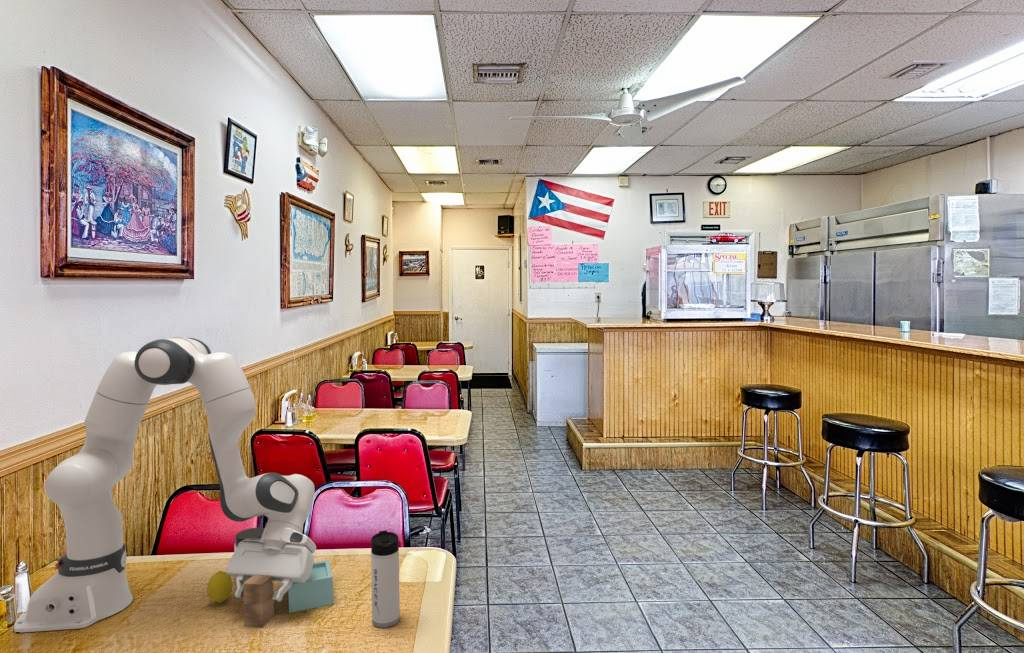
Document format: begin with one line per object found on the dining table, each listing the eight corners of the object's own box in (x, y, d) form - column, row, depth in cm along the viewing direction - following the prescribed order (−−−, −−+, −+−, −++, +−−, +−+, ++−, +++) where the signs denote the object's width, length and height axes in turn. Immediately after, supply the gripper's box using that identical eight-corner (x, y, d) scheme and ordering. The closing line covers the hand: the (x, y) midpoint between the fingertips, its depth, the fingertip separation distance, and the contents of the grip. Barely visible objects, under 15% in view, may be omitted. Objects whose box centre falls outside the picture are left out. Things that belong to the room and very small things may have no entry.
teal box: (289, 613, 136) (288, 585, 135) (288, 594, 145) (287, 567, 145) (332, 605, 140) (332, 577, 139) (329, 586, 149) (328, 560, 148)
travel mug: (397, 610, 137) (395, 528, 136) (401, 624, 130) (400, 539, 130) (370, 615, 134) (369, 532, 133) (374, 630, 128) (372, 543, 127)
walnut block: (244, 626, 130) (243, 583, 130) (256, 615, 135) (255, 573, 134) (262, 627, 130) (261, 584, 129) (273, 616, 134) (272, 575, 134)
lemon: (205, 610, 137) (204, 577, 137) (210, 598, 142) (209, 567, 142) (230, 606, 139) (229, 574, 138) (234, 595, 144) (234, 564, 144)
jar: (273, 578, 153) (272, 534, 152) (241, 588, 148) (240, 542, 147) (263, 566, 160) (262, 524, 159) (232, 575, 155) (231, 532, 154)
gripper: (235, 532, 140) (209, 591, 131) (313, 537, 137) (292, 597, 128) (247, 542, 145) (223, 600, 135) (322, 547, 141) (303, 606, 132)
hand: (257, 598), depth 131 cm, fingers open, 8 cm apart
